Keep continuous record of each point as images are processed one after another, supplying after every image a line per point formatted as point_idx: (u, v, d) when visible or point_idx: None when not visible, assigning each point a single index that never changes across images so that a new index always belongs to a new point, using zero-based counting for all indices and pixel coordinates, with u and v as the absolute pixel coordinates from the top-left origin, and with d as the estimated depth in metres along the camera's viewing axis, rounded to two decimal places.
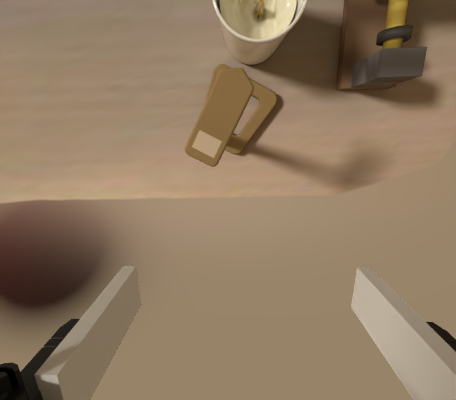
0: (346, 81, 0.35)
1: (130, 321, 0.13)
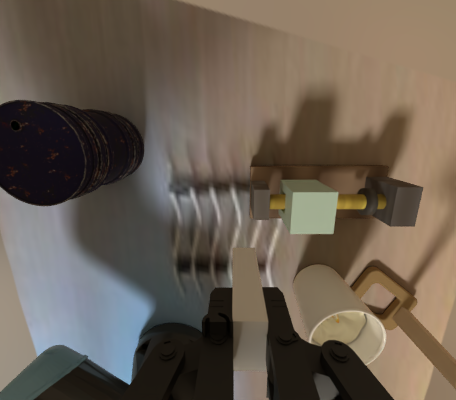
0: None
1: None
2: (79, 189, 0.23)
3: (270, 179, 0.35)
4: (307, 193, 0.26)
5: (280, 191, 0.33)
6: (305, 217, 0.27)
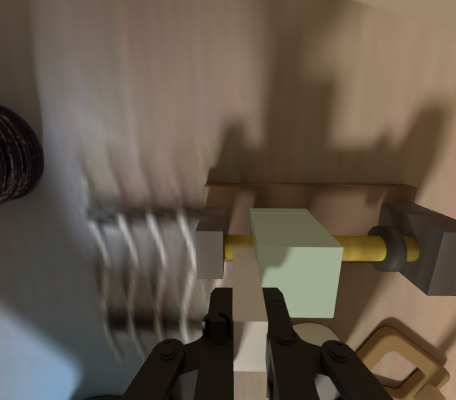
0: None
1: None
2: None
3: (234, 205, 0.23)
4: (285, 248, 0.14)
5: (249, 227, 0.21)
6: (282, 289, 0.15)
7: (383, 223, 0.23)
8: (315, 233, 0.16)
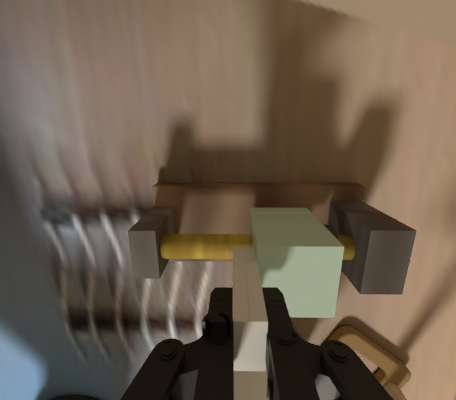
0: None
1: None
2: None
3: (183, 204, 0.23)
4: (285, 248, 0.14)
5: (249, 226, 0.21)
6: (282, 289, 0.15)
7: (331, 222, 0.22)
8: (316, 232, 0.16)
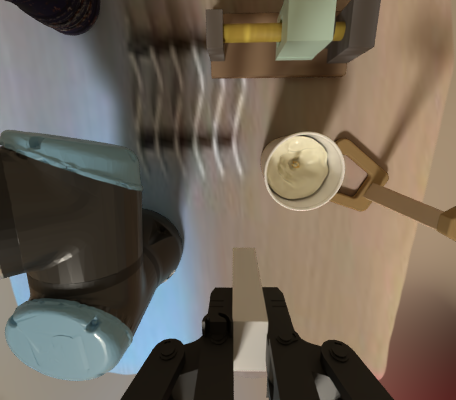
0: (340, 69, 0.35)
1: None
2: None
3: None
4: None
5: None
6: (303, 18, 0.26)
7: None
8: None
